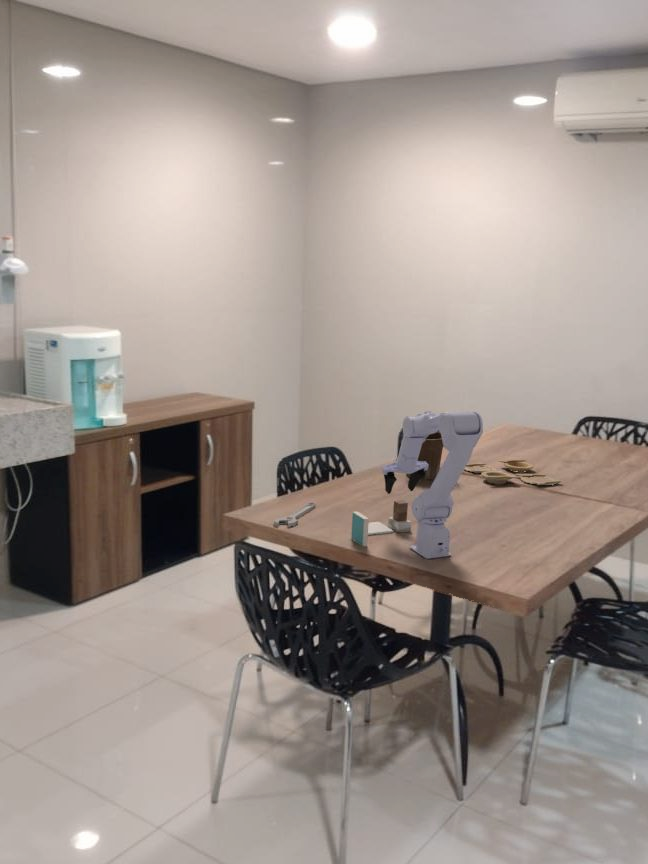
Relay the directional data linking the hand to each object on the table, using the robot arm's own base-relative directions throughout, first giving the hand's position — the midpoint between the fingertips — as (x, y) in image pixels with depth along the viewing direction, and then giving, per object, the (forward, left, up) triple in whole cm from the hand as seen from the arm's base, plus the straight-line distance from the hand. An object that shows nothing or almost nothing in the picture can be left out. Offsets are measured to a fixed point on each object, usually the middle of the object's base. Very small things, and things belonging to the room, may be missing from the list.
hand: (398, 490), depth 249 cm
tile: (-8, +17, -12) cm, 22 cm away
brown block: (-1, 0, -12) cm, 12 cm away
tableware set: (+43, -73, -12) cm, 86 cm away
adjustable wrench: (+19, +24, -12) cm, 33 cm away
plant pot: (+52, -40, -12) cm, 67 cm away
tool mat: (+1, +8, -12) cm, 14 cm away
